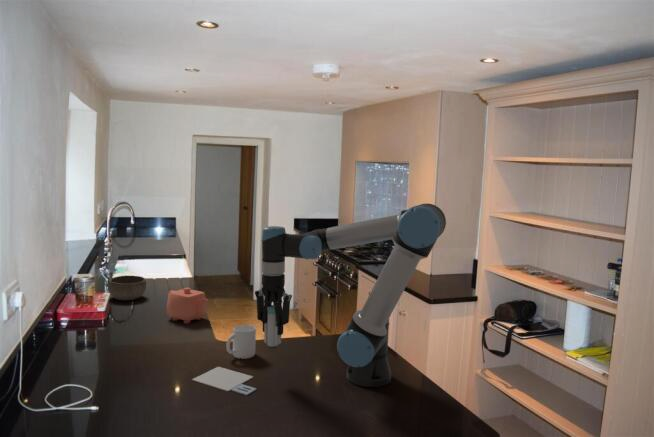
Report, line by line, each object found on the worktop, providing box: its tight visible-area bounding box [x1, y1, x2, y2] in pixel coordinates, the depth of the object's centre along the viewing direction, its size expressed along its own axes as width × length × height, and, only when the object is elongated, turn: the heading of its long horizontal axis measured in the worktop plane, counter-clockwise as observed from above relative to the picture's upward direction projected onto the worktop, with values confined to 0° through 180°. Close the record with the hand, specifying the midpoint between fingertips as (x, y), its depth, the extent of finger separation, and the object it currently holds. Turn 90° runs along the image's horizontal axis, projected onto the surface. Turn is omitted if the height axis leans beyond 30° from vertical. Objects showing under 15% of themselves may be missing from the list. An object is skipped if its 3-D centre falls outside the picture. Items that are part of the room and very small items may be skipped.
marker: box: [266, 304, 278, 350], centre depth 175 cm, size 4×4×14 cm
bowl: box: [108, 275, 147, 302], centre depth 265 cm, size 17×18×10 cm
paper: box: [191, 366, 254, 392], centre depth 174 cm, size 15×13×1 cm
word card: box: [230, 383, 257, 396], centre depth 166 cm, size 6×5×1 cm
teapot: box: [166, 287, 209, 325], centre depth 235 cm, size 22×13×14 cm, turn 61°
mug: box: [225, 324, 257, 360], centre depth 194 cm, size 12×8×10 cm
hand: (272, 342), depth 176 cm, fingers closed on marker, 3 cm apart
